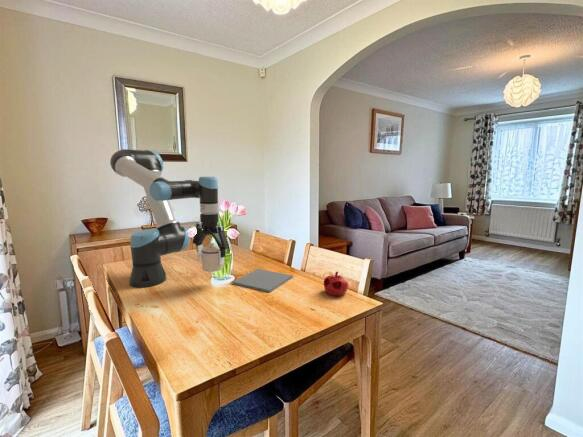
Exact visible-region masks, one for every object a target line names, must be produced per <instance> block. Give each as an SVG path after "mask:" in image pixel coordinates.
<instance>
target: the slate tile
mask: <svg viewBox="0 0 583 437" xmlns="http://www.w3.org/2000/svg"><path fill="white" fill-rule="evenodd" d="M293 276H294V275H293V274H292V275H291V274H287V273H281V272H276V271H271V270H268V269H267V270H266V269H262V268H261V269H260V268H257V269H255V270H252V271H251V272H249V273H247V274H244V275H243V276H241V277H239V278H236V279H235V280H233V281H232V285H236V286H240V287H245V288H248V289H253V290H256V291H262V292H266V293H271V292H273V291H275V290H276V289H278V288H279V287H280V286H282V285H284V284H285V283H286V282H289V280H291V279H293V278H294V277H293Z"/></svg>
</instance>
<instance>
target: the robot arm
mask: <svg viewBox="0 0 583 437" xmlns="http://www.w3.org/2000/svg"><path fill="white" fill-rule="evenodd" d="M109 161H110V162H109V164H110V167H111V170H112V171H113V172H114V173H116V174H117V175H119V177H120V176H121V177H123V178H126V177H127V178H128V179H129V180H131V181H133V182H134V183H136V184H138V185H139V186H141V187H142V188H143V189H144V192H145V195H146V198H147V201H148V203H149V207H150V210H151V212H152V215H153V218H154V221H155V223H156V227H155V228H148V229H142V230H138V231H136V232H134V233H132V234H131V236H130V241H129V242H130V244H129V245H130V251H131V252H130V253H131V264H132V268H131V271H130V272H131V273H130V276H129V285H130V286H131V287H134V288H147V287H148V288H149V287H154V286H157V285H160V284H162V283H164V282H165V281H166V280H167V273H166V271H165V268H164V266H163V265H162V258H161V256H166V255H170V254H173V253H179V252H181V251H183V250H185V249H187V247H188V246H189V244H190V240H191V239H190V237H189V236H190V235H189V236H188V234H187V231H188V232H189V230H188V229H187V228H186V227H184V226H182V225H181V222H180V221H178V220H176V218H175V216H174V213H173V210H172V207H171V205H170V202H169V201H171V200H172V201H173V200H182V199H199V210H200V211H199V213H200V216H199V217H200V222H198V223H196V224H195V228H196V229H197V234H196V235H195V234H194V235H195V236H193V240H192V244H194V245H195V246H196V253H197V261H202V252H201V250H202V248H204V245H203V242H204V240H205V239H206V236H207V235H209V236H211V237H212V238H213V239H214V241H215V242H216V245H217V246H218V247H219V248H220V250H218V253H219V265H222V264H223V265H224V264H225V257H226V250H228V249H230V245H229V242H228V239H227V237H226V236H227V235H226V233H225V226H224V225H219V224H218V223H219V218H220V217H219V213H218V212H219V191H218V190H219V186H218V178H217V177H216V176H199V178H198V180H192V179H186V180H185V179H184V180H168V179H166V178H164V177H162V176H161V175H162V172H163V169H164V161H163V159H162V157H161V155H160V154H159V153H157V152H156V151H154V150H148V149H145V150H144V149H143V150H141V149H128V148H127V149H120V150H117V151H116V152H114V153H113V154H112V155H111V157H110V159H109ZM196 229H195V230H196Z"/></svg>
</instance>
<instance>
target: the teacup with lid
mask: <svg viewBox="0 0 583 437" xmlns="http://www.w3.org/2000/svg"><path fill="white" fill-rule="evenodd" d="M218 250H220V248H219V247H218V245H217V244H215V242H210V243H209V244H208V245H206V246H203V248H202V250H201V252H202V260H201V261H202V262H201V263H202V265H201V266H202V271H204V272H206V273H207V272H208V273H213V272H214V273H215V272H220V271H221V270H222V269H223V268H224V264H222V265H219V253H218Z"/></svg>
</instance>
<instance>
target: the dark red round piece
mask: <svg viewBox="0 0 583 437" xmlns="http://www.w3.org/2000/svg"><path fill="white" fill-rule="evenodd" d="M338 274H339V271H335V273H334V274H333V273H329V274H328V275H327V276H326V277H325V278H324V280H323V287H324V288H323V289H324V291H325V292H326V294H328V295H331V296H334V297H338V296H339V297H340V296H343V295H344V294H345V293H347V291H348V287H349V284H348V281H347V280H346V279H345V278H344V277H343V276H342V274H340V275H338Z"/></svg>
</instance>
